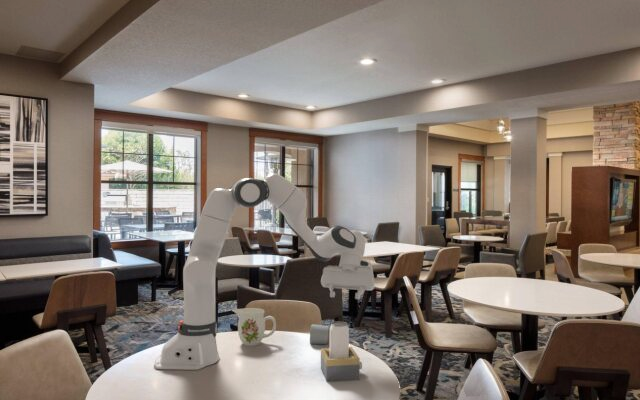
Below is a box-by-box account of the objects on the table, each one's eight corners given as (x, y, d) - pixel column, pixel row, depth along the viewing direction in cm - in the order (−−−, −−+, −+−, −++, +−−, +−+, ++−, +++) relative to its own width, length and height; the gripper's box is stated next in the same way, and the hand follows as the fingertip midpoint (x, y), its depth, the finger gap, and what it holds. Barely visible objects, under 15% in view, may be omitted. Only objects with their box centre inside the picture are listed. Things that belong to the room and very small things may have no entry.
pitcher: (275, 347, 175) (275, 312, 175) (229, 348, 173) (230, 313, 173) (276, 338, 186) (276, 306, 186) (233, 339, 184) (233, 306, 184)
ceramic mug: (329, 346, 176) (330, 327, 176) (309, 346, 176) (309, 327, 177) (330, 338, 187) (330, 320, 187) (311, 338, 187) (311, 320, 187)
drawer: (326, 381, 142) (326, 360, 142) (320, 368, 153) (320, 348, 153) (365, 379, 145) (365, 357, 145) (356, 366, 155) (357, 346, 155)
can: (349, 356, 151) (350, 321, 151) (346, 363, 145) (347, 327, 145) (331, 354, 153) (331, 320, 153) (327, 361, 147) (328, 325, 147)
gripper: (323, 260, 171) (315, 290, 162) (375, 263, 166) (370, 294, 156) (325, 270, 175) (318, 300, 166) (376, 273, 170) (372, 304, 161)
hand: (344, 297), depth 161 cm, fingers open, 8 cm apart
